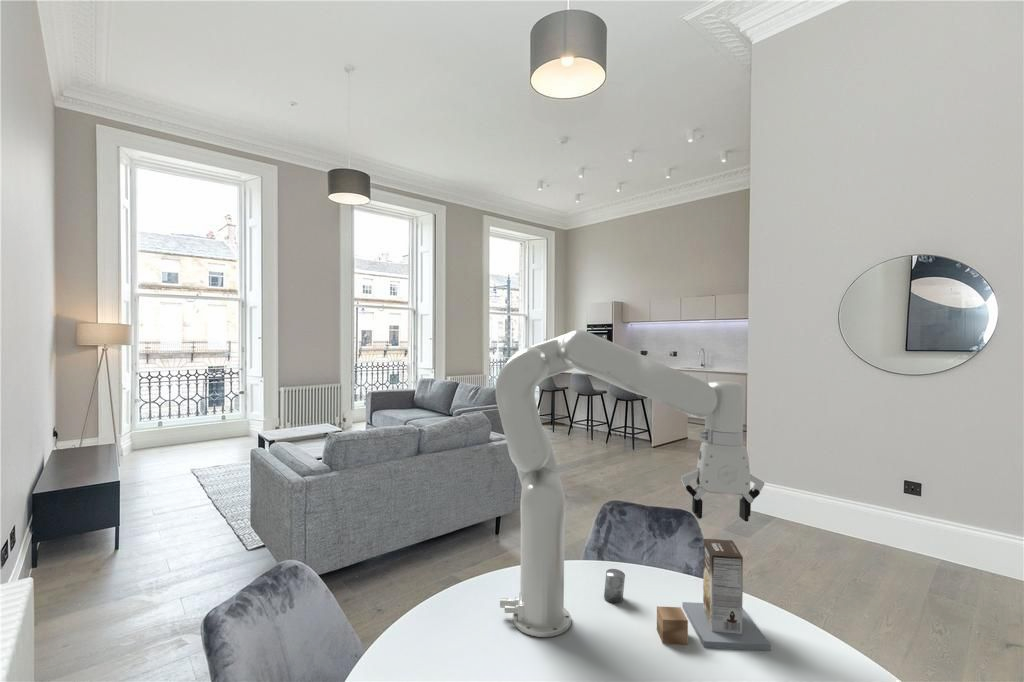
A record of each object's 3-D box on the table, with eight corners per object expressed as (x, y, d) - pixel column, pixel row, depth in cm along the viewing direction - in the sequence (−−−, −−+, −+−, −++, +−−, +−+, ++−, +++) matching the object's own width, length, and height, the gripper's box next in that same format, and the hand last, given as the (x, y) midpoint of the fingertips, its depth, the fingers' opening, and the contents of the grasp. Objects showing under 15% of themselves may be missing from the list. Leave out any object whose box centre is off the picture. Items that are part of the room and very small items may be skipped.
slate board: (703, 647, 97) (703, 641, 97) (682, 607, 112) (682, 602, 112) (770, 650, 96) (770, 644, 96) (740, 609, 111) (740, 604, 111)
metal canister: (615, 605, 112) (617, 580, 112) (600, 596, 116) (602, 572, 115) (626, 599, 115) (628, 575, 115) (611, 590, 119) (613, 566, 118)
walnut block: (662, 644, 98) (662, 619, 98) (656, 630, 103) (656, 606, 103) (687, 645, 98) (687, 620, 98) (680, 631, 103) (680, 607, 103)
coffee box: (702, 608, 109) (702, 537, 109) (732, 611, 108) (732, 539, 108) (711, 632, 100) (711, 554, 100) (744, 635, 99) (744, 556, 99)
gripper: (687, 439, 102) (684, 521, 101) (772, 444, 100) (770, 526, 100) (677, 433, 109) (675, 509, 109) (757, 437, 108) (754, 514, 108)
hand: (720, 517), depth 104 cm, fingers open, 9 cm apart
